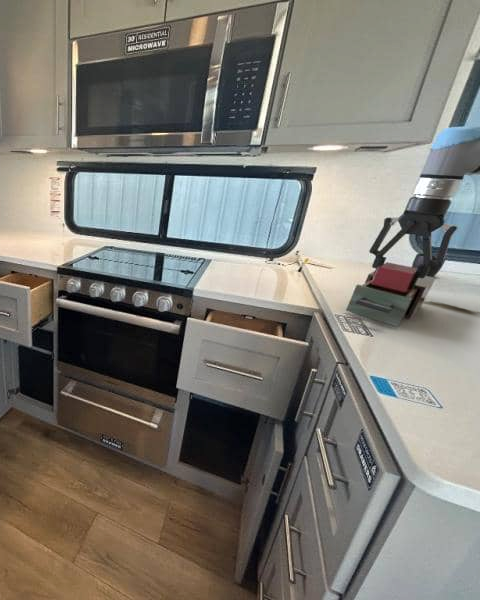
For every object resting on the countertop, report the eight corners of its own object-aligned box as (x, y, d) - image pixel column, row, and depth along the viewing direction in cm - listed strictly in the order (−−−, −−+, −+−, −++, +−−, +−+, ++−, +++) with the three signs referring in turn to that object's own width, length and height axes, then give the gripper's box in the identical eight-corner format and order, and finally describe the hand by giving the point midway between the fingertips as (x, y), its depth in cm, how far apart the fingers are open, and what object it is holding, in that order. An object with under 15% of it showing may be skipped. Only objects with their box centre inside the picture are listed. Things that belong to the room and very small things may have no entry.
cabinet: (409, 319, 93) (425, 287, 89) (356, 303, 102) (368, 274, 98) (420, 306, 103) (435, 277, 99) (370, 293, 112) (382, 266, 108)
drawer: (392, 332, 82) (406, 303, 79) (339, 315, 90) (350, 288, 87) (410, 313, 94) (422, 288, 91) (361, 300, 102) (371, 276, 99)
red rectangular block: (411, 286, 90) (420, 268, 88) (404, 292, 85) (413, 273, 83) (379, 278, 96) (386, 262, 94) (370, 283, 90) (378, 266, 88)
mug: (435, 278, 133) (447, 256, 130) (433, 284, 126) (445, 260, 122) (408, 273, 139) (419, 251, 135) (404, 278, 131) (415, 255, 128)
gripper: (376, 193, 86) (344, 275, 95) (491, 203, 72) (440, 299, 81) (383, 192, 91) (352, 271, 100) (493, 202, 76) (444, 293, 85)
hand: (391, 284), depth 90 cm, fingers closed on red rectangular block, 7 cm apart
